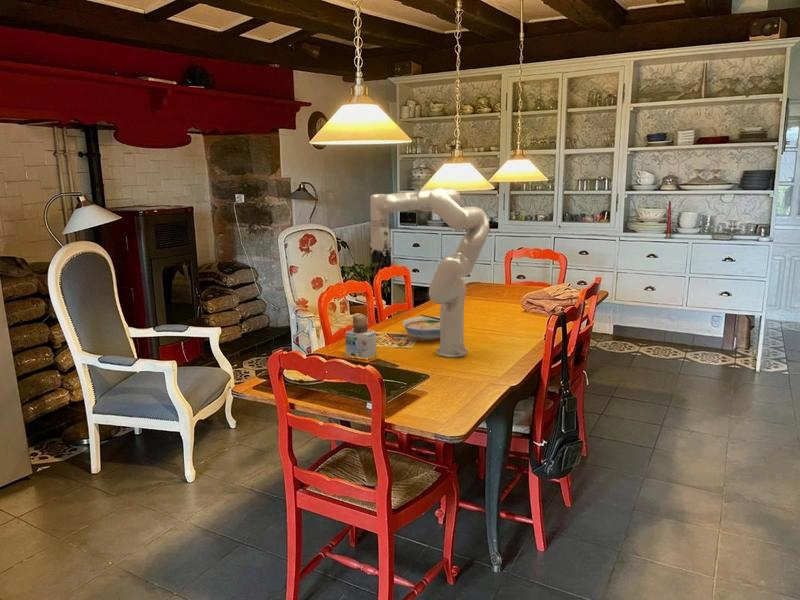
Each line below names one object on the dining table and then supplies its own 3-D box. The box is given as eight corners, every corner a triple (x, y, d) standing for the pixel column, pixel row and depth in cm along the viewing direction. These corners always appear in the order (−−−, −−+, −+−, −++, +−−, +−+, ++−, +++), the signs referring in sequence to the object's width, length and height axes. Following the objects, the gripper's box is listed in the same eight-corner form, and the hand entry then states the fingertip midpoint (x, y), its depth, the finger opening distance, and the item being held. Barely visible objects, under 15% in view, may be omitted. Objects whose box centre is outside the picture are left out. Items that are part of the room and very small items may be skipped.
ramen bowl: (390, 337, 264) (389, 320, 263) (427, 328, 279) (427, 311, 277) (428, 349, 246) (428, 330, 244) (466, 339, 260) (466, 321, 258)
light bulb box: (345, 357, 237) (344, 331, 235) (354, 353, 243) (353, 327, 240) (368, 361, 232) (367, 334, 230) (377, 356, 238) (376, 330, 236)
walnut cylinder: (369, 331, 234) (369, 316, 233) (357, 333, 231) (356, 318, 230) (363, 328, 239) (363, 313, 237) (351, 330, 236) (350, 315, 235)
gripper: (398, 224, 243) (398, 265, 247) (377, 222, 257) (378, 260, 261) (382, 225, 239) (383, 267, 243) (362, 223, 254) (363, 262, 257)
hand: (380, 264), depth 252 cm, fingers open, 9 cm apart
